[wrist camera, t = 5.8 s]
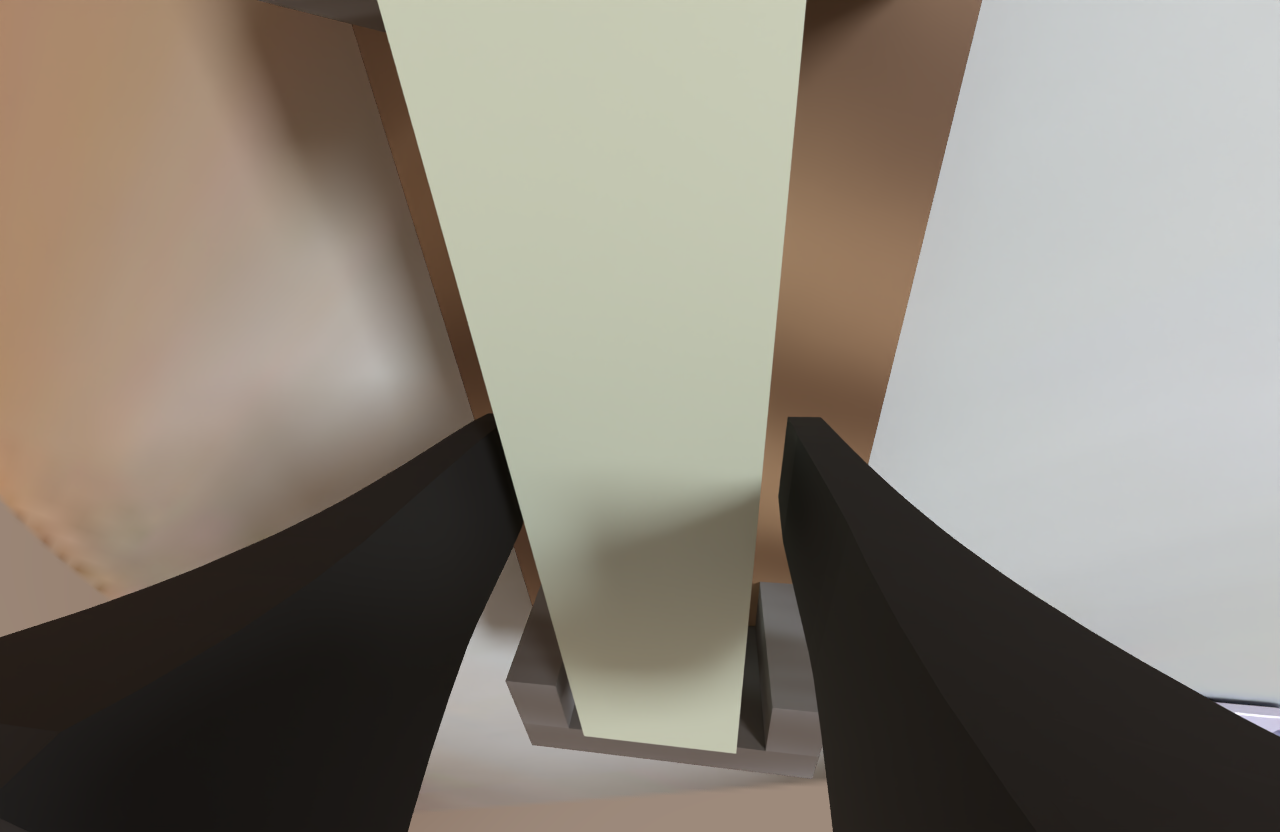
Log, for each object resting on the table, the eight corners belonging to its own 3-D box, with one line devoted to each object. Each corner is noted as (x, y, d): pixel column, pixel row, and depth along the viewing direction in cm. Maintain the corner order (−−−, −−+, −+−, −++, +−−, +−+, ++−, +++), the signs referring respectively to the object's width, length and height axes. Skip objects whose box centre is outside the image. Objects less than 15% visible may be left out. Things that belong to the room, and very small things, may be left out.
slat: (730, 587, 16) (736, 753, 12) (616, 580, 17) (584, 735, 12) (765, -53, 7) (831, -265, 3) (527, -22, 8) (330, -168, 4)
